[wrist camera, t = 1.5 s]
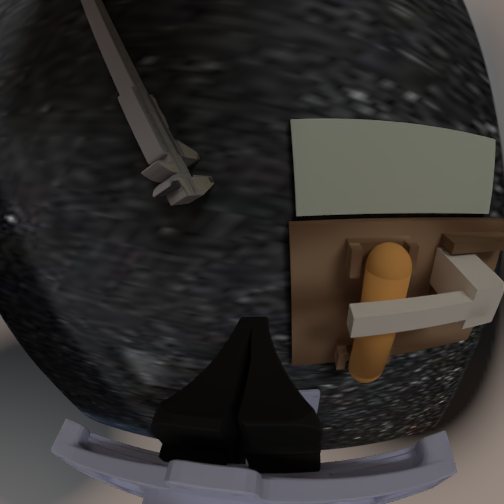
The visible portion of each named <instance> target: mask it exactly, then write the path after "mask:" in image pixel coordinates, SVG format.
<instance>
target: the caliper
mask: <svg viewBox="0 0 504 504" xmlns="http://www.w3.org/2000/svg"><path fill="white" fill-rule="evenodd" d="M81 3H82V5H83V8H84V11H85V13H86V16H87V19H88V21H89V24H90V26H91V29H92V32H93V34H94V36H95V39H96V41H97V44H98V46H99V49H100V51H101V53H102V56H103V58H104V60H105V63H106V65H107V67H108V70H109V72H110V74H111V77H112V79H113V81H114V83H115V85H116V88H117V90H118V92H119V94H120V96H119V97H117V98H118V101H119V103H120V105H121V107H122V110H123V112H124V114H125V116H126V118H127V121H128V123H129V125H130V127H131V129H132V131H133V133H134V136H135V138H136V140H137V142H138V144H139V146H140V148H141V150H142V152H143V154H144V156H145V158H146V160H147V162H148V164H149V165H150V166H149V167H148V168H146V169H145V170H144V171H142V172H141V174H142V175H143V176H145V177H147V178H148V179H150V180H152V181H154V182H162V183H161V184H159V185H158V186H157V187H156V188H155V189H154V191H153V197H158V196H166V197H167V199H168V201H169V203H170V204H171V206H173V205H181V204H189V203H190V202H192V201H194V200H195V199H197V198H199V197H201V196H202V195H204V194H205V193H206V192H207V191H208V190H209V189H210V188H211V187H212V185H213V184H214V181H213V179H212V176H200V175H190V173H189V171H188V169H187V167H189V166H191V165H192V164H194V163H195V162H197V161H199V160H200V159H201V158H200V157H199V155H198V154H197V152H196V151H194V150H192V149H191V148H189V147H188V146H186V145H185V144H183V143H181V142H180V141H178V140H176V139H175V138H174V137H173V135H172V133H171V132H170V130H169V125H168V122H167V119H166V117H165V115H164V113H163V111H162V110H161V108H160V106H159V104H158V101H157V99H156V97H155V96H154V95H152V94H150V93H148V92H147V90H146V88H145V86H144V84H143V82H142V80H141V78H140V76H139V74H138V72H137V70H136V68H135V66H134V65H133V63H132V61H131V59H130V57H129V55H128V53H127V51H126V49H125V47H124V45H123V43H122V41H121V39H120V37H119V35H118V32H117V30H116V28H115V26H114V24H113V22H112V20H111V18H110V16H109V14H108V12H107V10H106V8H105V5H104V3H103V2H102V0H81Z"/></svg>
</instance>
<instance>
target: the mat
mask: <svg viewBox="0 0 504 504" xmlns="http://www.w3.org/2000/svg"><path fill="white" fill-rule="evenodd" d="M290 125H291V137H292V151H293V166H294V182H295V202H296V216H314V215H341V214H380V213H472V214H489V209H490V202H491V195H492V186H493V176H494V163H495V139H491V138H488V137H483V136H479V135H475V134H470V133H466V132H461V131H456V130H450V129H445V128H439V127H432V126H425V125H418V124H410V123H401V122H390V121H378V120H361V119H290Z"/></svg>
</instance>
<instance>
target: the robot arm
mask: <svg viewBox="0 0 504 504" xmlns="http://www.w3.org/2000/svg"><path fill="white" fill-rule="evenodd" d="M319 398H320V390H318V389H310V390H298V389H297V388H296V387H295V385H294V384H293V382H292V381H291V379H290V378H289V376H288V374H287V373H286V371H285V369H284V367H283V366H282V364H281V362H280V360H279V357H278V355H277V353H276V350H275V348H274V345H273V342H272V339H271V336H270V332H269V322H268V318H267V317H242V318H240V320H239V322H238V324H237V326H236V328H235V329H234V331H233V333H232V334H231V336H230V338H229V339H228V341H227V342H226V344H225V345H224V347H223V348H222V349H221V351H220V352H219V353H218V355H217V356H216V357H215V359H214V360H213V361H212V362H211V363H210V364H209V365H208V367H207V368H206V369H205V370H204V371H203V372H202V373H201V374H200V375H199V376H197V377H196V378H195V379H194V380H193V381H192V382H191V383H189V384H188V385H187V386H186V387H184V388H183V389H182V390H180V391H179V392H178V393H176V394H175V395H173V396H171V397H170V398H168V399H166V400H165V401H163V402H161V403H160V405H159V407H158V409H157V410H156V412H155V415H154V418H153V421H152V424H151V430H152V432H153V433H154V435H155V436H156V437H157V438H158V439H159V440H160V441H161V442H162V447H161V450H160V453H158V452H154V451H150V450H146V449H142V448H138V447H134V446H131V445H127V444H124V443H120V442H117V441H114V440H111V439H107V438H105V437H102V436H99V435H96V434H93V433H91V432H90V431H89V430H88V429H87V428H86V427H85V426H83V425H82V424H80V423H77V422H75V421H73V420H70V419H66V420H65V422H64V424H63V426H62V428H61V430H60V432H59V434H58V436H57V438H56V440H55V442H54V444H53V446H52V448H51V452H52V453H54V454H55V455H56V456H58V457H59V458H60V459H62V460H63V461H65V462H66V463H67V464H69V465H70V466H72V467H73V468H75V469H76V470H78V471H80V472H82V473H84V474H86V475H89V476H91V477H93V478H95V479H97V480H99V481H102V482H104V483H106V484H108V485H111V486H113V487H116V488H118V489H121V490H123V491H126V492H128V493H131V494H134V495H137V496H139V497H142V498H144V499H143V502H142V504H385V503H389V502H392V501H395V500H399V499H402V498H405V497H408V496H411V495H414V494H417V493H420V492H423V491H426V490H428V489H431V488H433V487H435V486H437V485H438V484H440V483H442V482H443V481H445V480H446V479H448V478H449V477H451V476H452V475H454V474H455V473H456V472H457V470H456V466H455V462H454V458H453V454H452V451H451V447H450V444H449V441H448V437H447V435H446V431H441V432H439V433H436V434H433V435H430V436H427V437H424V438H422V439H421V440H419V441H418V442H417V444H416V445H415V446H411V447H407V448H404V449H400V450H396V451H392V452H387V453H383V454H378V455H373V456H369V457H362V458H356V459H350V460H344V461H335V462H326V463H320V452H321V447H320V443H321V440H322V436H323V430H322V426H321V423H320V421H319V418H318V416H317V410H318V404H319Z"/></svg>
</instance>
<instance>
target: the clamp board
mask: <svg viewBox="0 0 504 504" xmlns="http://www.w3.org/2000/svg"><path fill="white" fill-rule="evenodd" d="M289 241H290V268H291V310H292V365H303V364H319V363H332V362H335V365H336V370H340V369H345V364H346V361H349V360H350V356H351V351H352V347H353V342H354V338H350V334H349V330H348V327H347V317H348V310H349V304H352V303H360V302H361V296H362V289H363V281H364V274H365V265H366V260H367V257H368V255H369V253H370V252H371V251H372V250H373V249H374V248H375V247H376V246H377V245H379V244H382V243H386V242H393V243H396V244H399V245H401V246H402V247H403V248H404V249H405V250H406V251H407V252H408V254H409V255H410V258H411V261H412V272H411V277H410V282H409V286H408V290H407V295H406V298H412V297H420V296H428V295H436V294H437V292H436V291H435V290H434V288H433V287H432V285H431V284H430V283H429V282H430V278H431V274H432V269H433V265H434V260H435V256H436V251H437V248H438V247H445V248H446V249H447V250H448V251H449V252H450V253H451V254H463V253H474V254H475V255H476V256H477V257H479V258H480V259H481V260H482V261H483V262H484V263H485V264H486V265H487V266H488V267H489V268H490V269H491V270H492V271H493V272H494V270H495V267H496V263H497V260H498V256H499V253H500V251H501V250H504V219H502V218H480V217H409V218H362V219H332V220H308V221H289ZM472 328H473V327H469V328H465V329H462V328H461V327H460V325H459V324H458V322H453V323H448V324H443V325H438V326H432V327H427V328H421V329H415V330H409V331H402V332H396V335H395V338H394V341H393V344H392V347H391V350H390V353H389V356H388V359H387V362H386V364H387V363H389V360H390V357H391V355H396V354H402V353H408V352H413V351H418V350H423V349H428V348H433V347H438V346H442V345H446V344H450V343H455V342H459V341H462V340H466V339H468V337H469V335H470V333H471V330H472Z"/></svg>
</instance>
